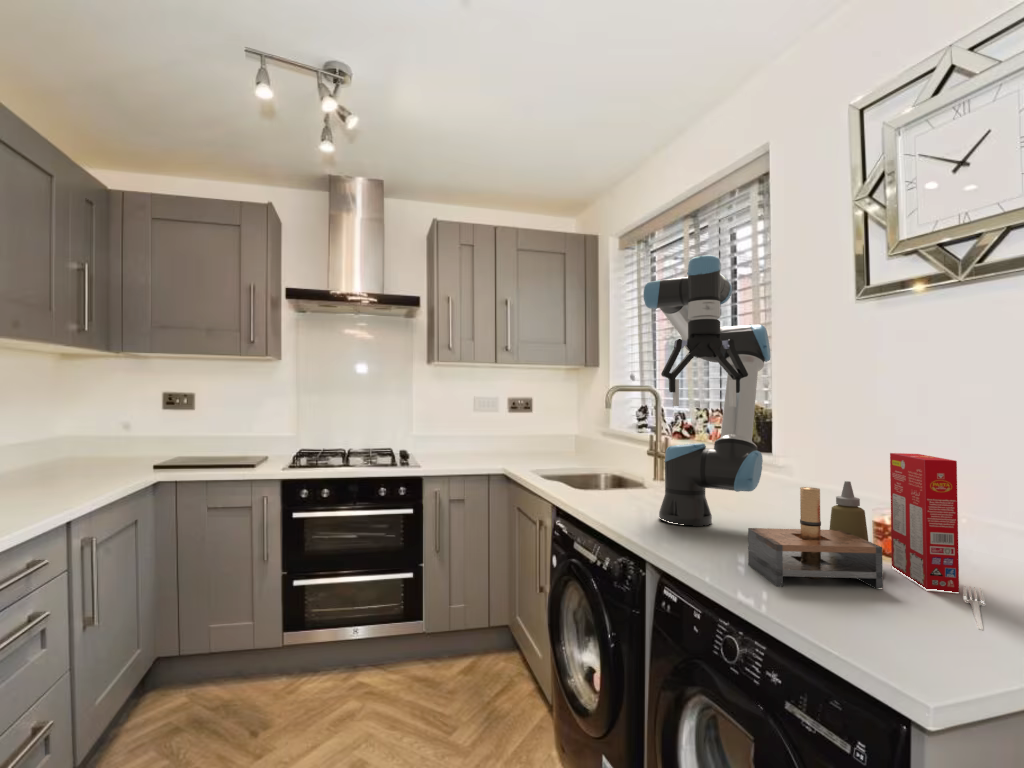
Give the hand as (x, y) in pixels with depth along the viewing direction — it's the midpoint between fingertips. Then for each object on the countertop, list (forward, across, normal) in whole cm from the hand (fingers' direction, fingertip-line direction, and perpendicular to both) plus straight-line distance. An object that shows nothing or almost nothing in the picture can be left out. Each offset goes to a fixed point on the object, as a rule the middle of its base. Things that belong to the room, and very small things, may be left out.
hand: (704, 406), depth 131 cm
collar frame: (+35, +16, -18) cm, 42 cm away
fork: (+35, +35, -36) cm, 61 cm away
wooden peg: (+35, +16, -18) cm, 42 cm away
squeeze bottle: (+35, +30, -7) cm, 47 cm away
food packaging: (+35, +38, -19) cm, 55 cm away
